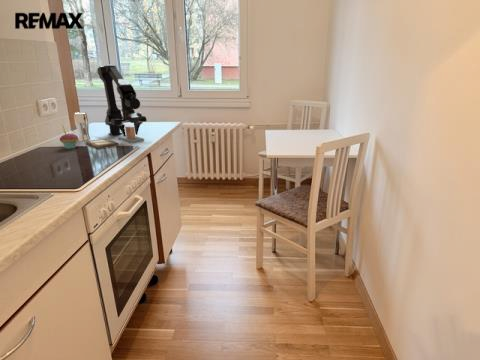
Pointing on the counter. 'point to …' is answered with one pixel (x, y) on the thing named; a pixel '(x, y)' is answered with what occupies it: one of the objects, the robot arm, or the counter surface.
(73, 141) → the cupcake
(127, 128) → the gray plate with block
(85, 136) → the beer glass
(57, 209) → the counter surface
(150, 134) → the counter surface
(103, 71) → the robot arm
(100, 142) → the block
